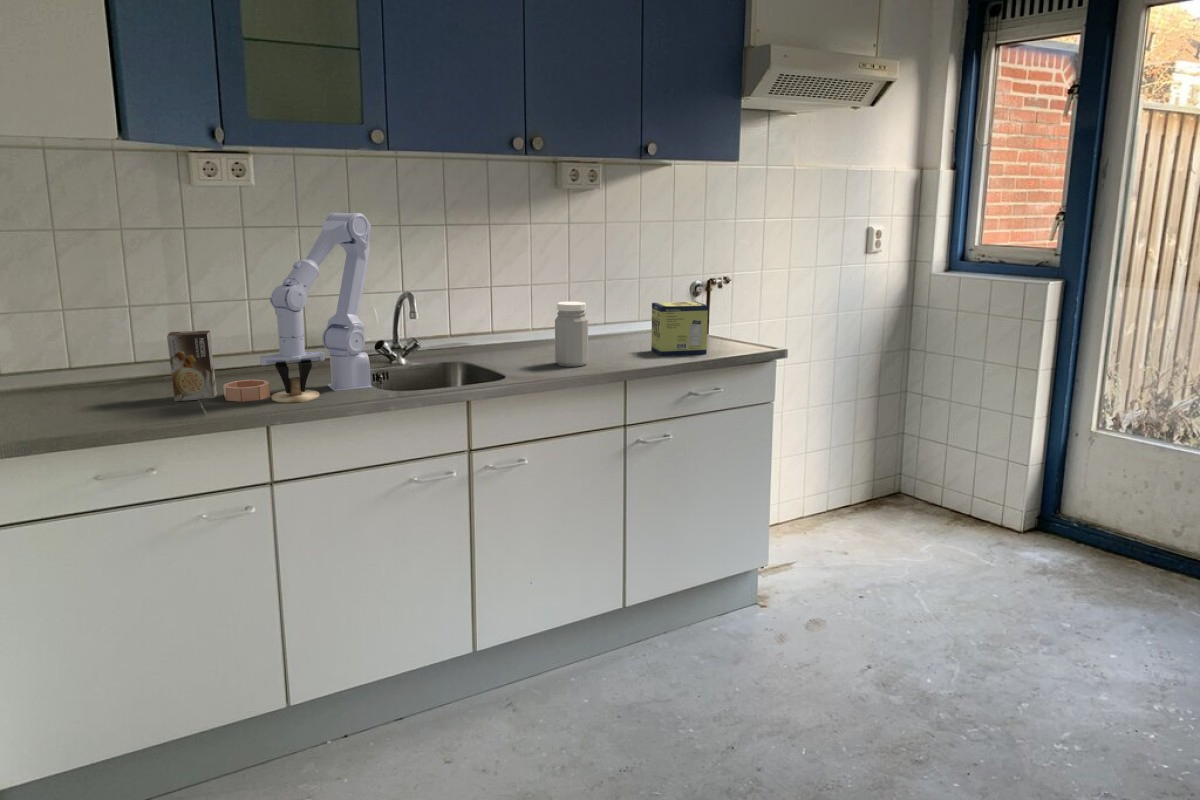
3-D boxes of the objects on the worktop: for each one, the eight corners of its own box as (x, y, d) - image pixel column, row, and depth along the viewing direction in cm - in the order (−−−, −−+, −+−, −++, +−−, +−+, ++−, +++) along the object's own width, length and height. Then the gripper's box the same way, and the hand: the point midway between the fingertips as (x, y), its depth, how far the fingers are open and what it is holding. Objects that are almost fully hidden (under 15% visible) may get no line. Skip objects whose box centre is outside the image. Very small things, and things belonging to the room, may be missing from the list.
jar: (548, 363, 263) (547, 302, 259) (574, 360, 269) (573, 300, 265) (569, 368, 256) (568, 305, 252) (595, 364, 262) (595, 303, 258)
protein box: (650, 350, 286) (651, 302, 282) (696, 349, 289) (697, 301, 286) (659, 356, 276) (660, 306, 273) (707, 354, 279) (709, 304, 276)
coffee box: (217, 393, 222) (211, 329, 219) (214, 399, 216) (208, 333, 213) (177, 396, 220) (170, 331, 216) (173, 401, 214) (166, 335, 210)
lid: (314, 391, 224) (312, 372, 223) (324, 399, 214) (322, 380, 213) (268, 395, 219) (266, 376, 217) (276, 404, 209) (274, 384, 208)
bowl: (265, 392, 224) (264, 378, 224) (272, 399, 216) (271, 385, 215) (223, 396, 220) (221, 382, 219) (228, 404, 211) (227, 389, 210)
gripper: (261, 340, 206) (266, 398, 209) (325, 336, 213) (329, 392, 216) (256, 336, 212) (261, 392, 215) (319, 332, 219) (323, 386, 222)
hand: (295, 392), depth 216 cm, fingers closed on lid, 3 cm apart
